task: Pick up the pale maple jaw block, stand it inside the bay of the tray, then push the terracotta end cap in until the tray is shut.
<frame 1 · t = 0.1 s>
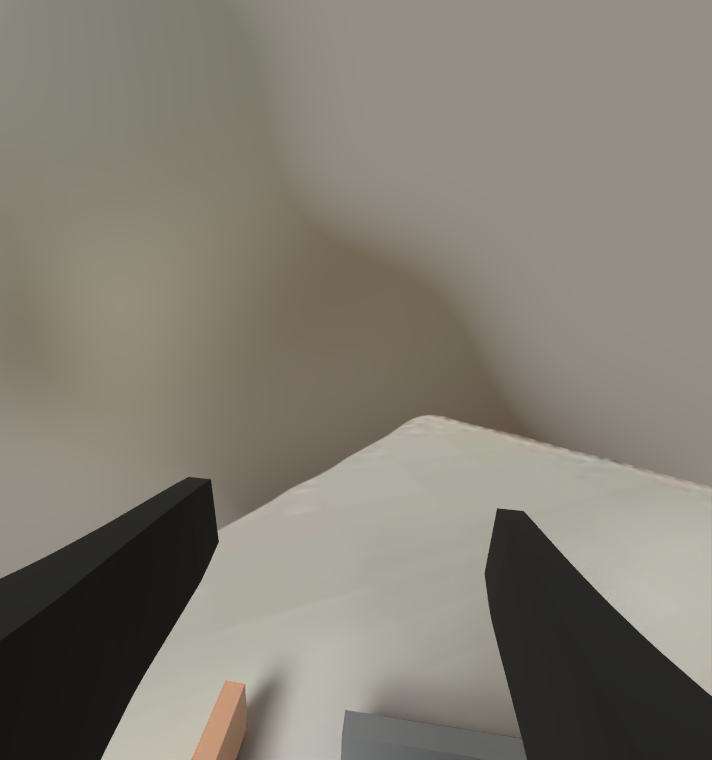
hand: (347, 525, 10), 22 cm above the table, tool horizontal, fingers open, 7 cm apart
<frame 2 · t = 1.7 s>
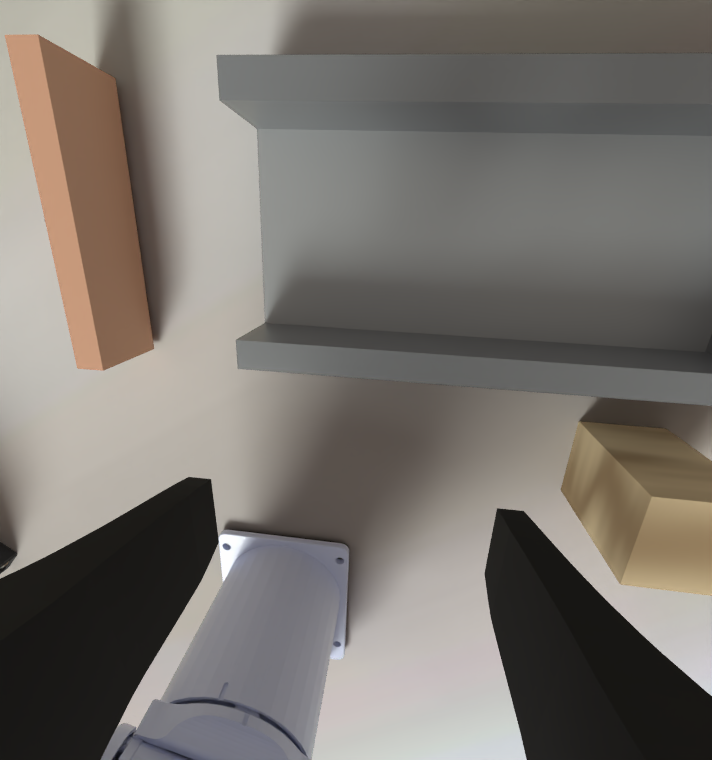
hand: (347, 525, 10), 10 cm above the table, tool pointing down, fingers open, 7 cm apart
tray: (454, 242, 17), on the table
end cap: (95, 226, 16), point 2 cm above the table, slide at 6.0 cm
jaw block: (610, 460, 19), on the table
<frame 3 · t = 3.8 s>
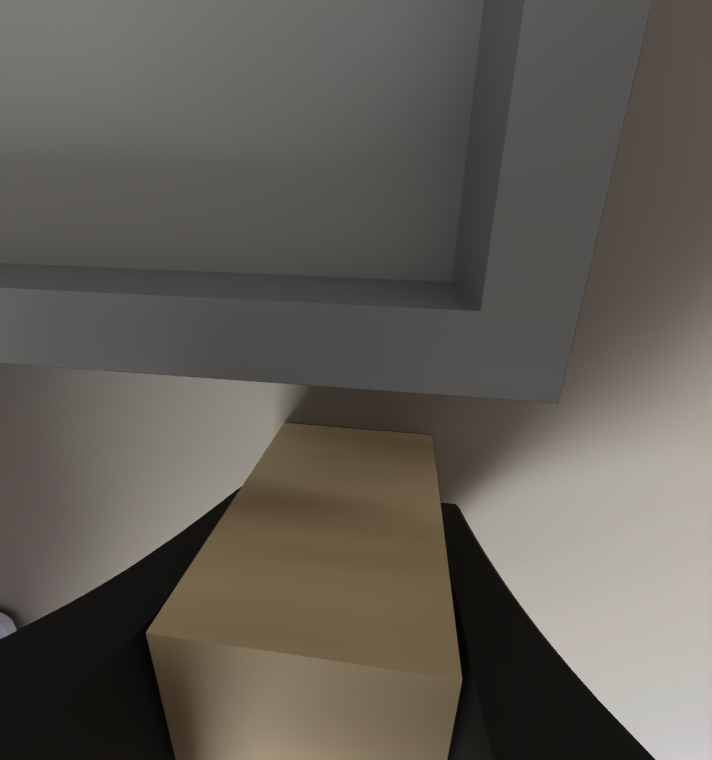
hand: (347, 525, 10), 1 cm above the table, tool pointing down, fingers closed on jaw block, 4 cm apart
jaw block: (354, 490, 11), on the table, touching gripper
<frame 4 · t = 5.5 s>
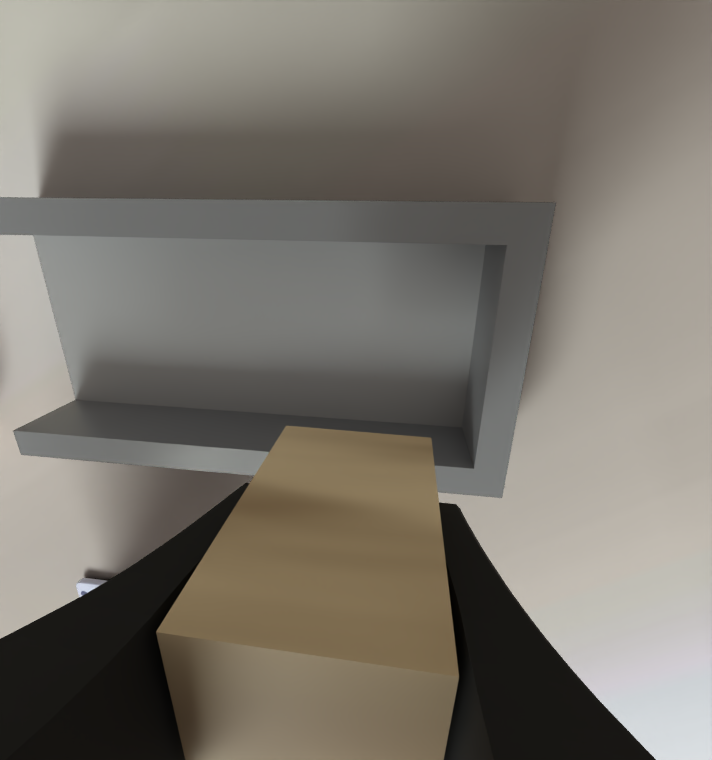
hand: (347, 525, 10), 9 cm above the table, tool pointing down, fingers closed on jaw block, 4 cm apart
tray: (230, 328, 18), on the table
jaw block: (355, 492, 11), point 8 cm above the table, touching gripper
when the fingers open (3 cm above the table, at t = 7.3 s): jaw block stays where it is, resting on tray.
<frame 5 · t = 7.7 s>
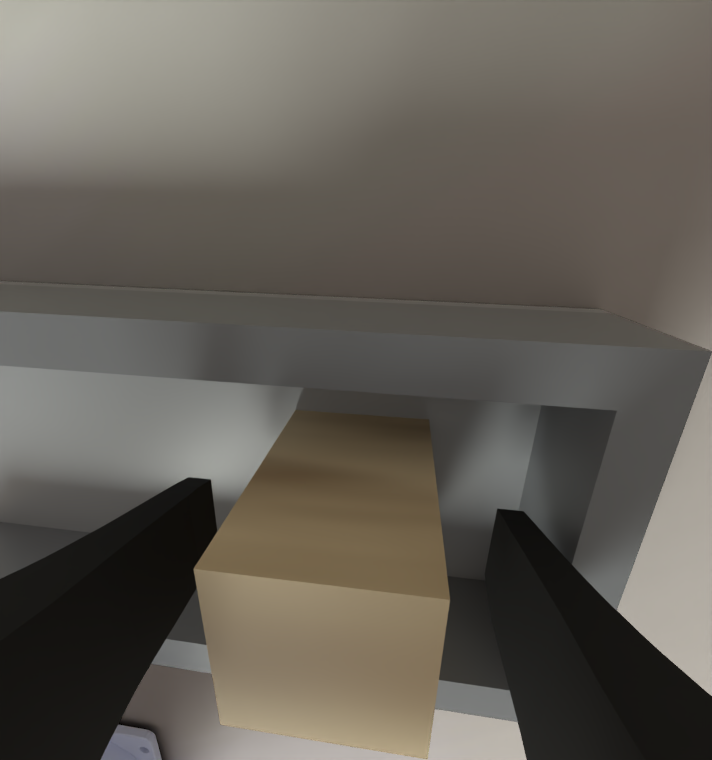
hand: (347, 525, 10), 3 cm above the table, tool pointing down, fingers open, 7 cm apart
tray: (189, 441, 13), on the table
jaw block: (359, 471, 12), point 1 cm above the table, touching tray
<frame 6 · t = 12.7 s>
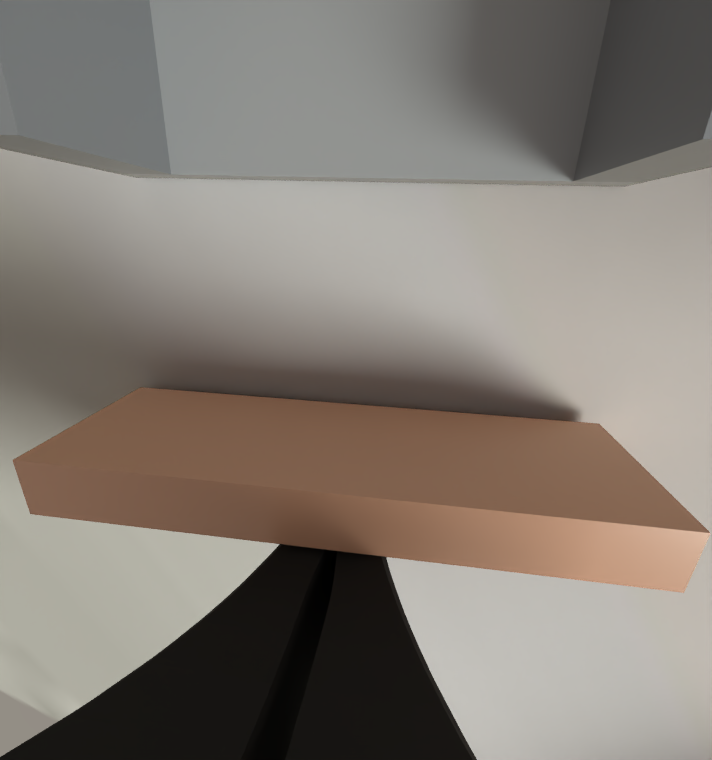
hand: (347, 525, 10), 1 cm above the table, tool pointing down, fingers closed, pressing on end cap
end cap: (344, 464, 8), point 2 cm above the table, slide at 4.9 cm, touching gripper
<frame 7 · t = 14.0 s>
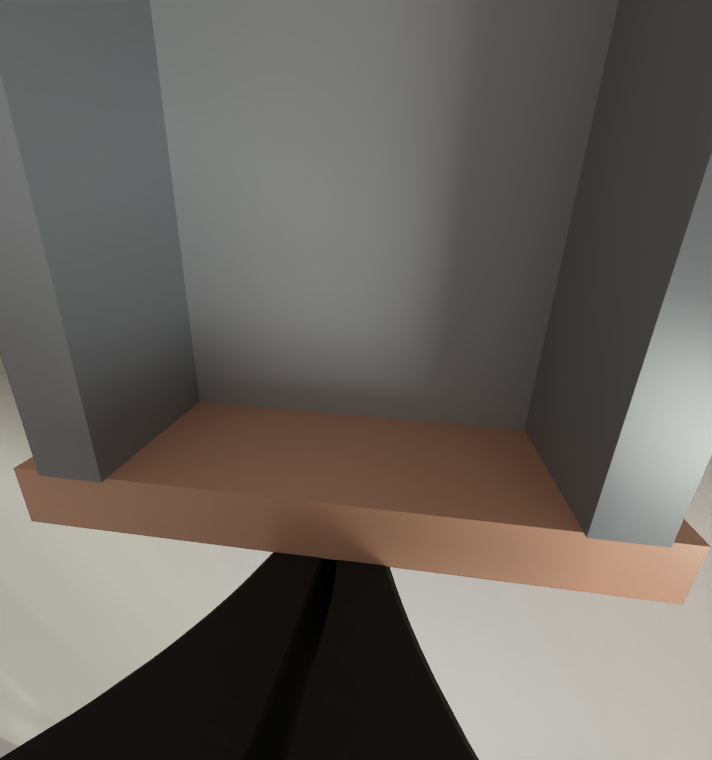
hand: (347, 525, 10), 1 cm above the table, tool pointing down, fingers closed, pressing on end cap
end cap: (344, 471, 8), point 2 cm above the table, slide at -0.1 cm, touching gripper, tray
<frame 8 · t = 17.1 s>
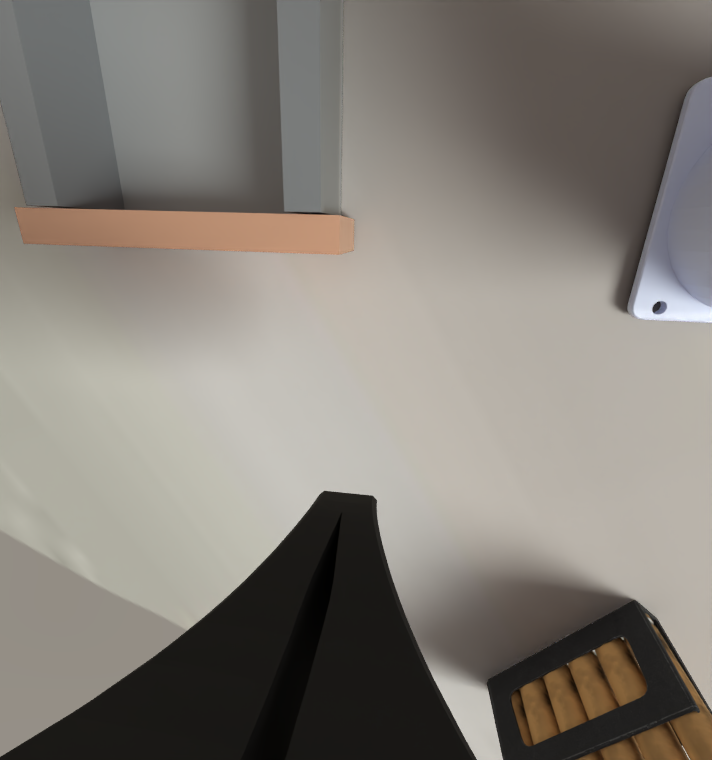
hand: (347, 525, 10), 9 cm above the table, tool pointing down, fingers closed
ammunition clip: (563, 648, 23), on the table
end cap: (198, 230, 15), point 2 cm above the table, slide at 0.0 cm
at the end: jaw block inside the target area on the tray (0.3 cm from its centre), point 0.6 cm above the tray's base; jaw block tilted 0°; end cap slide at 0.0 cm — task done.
